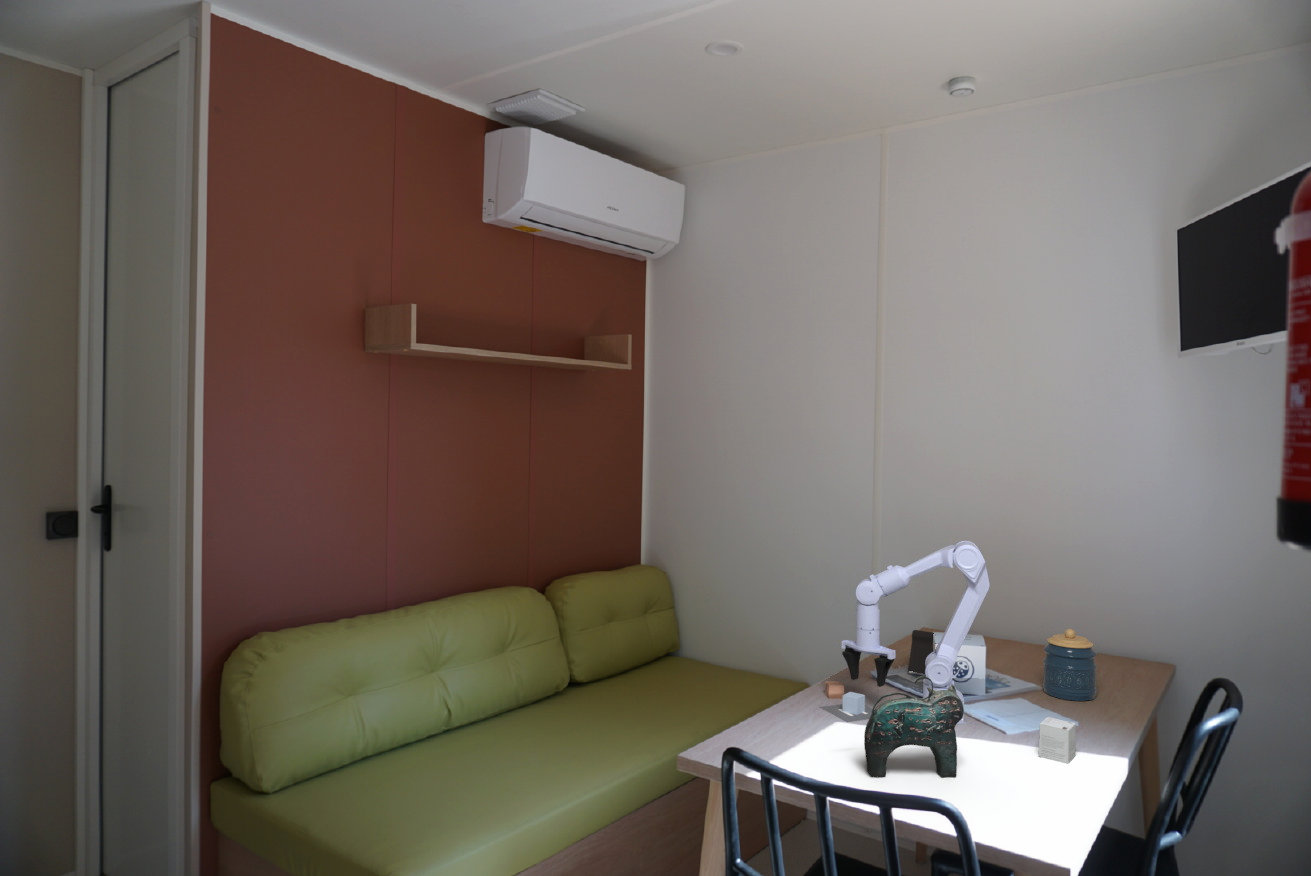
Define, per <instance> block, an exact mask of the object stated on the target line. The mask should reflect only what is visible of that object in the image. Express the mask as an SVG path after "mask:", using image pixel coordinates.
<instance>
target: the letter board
mask: <svg viewBox="0 0 1311 876" xmlns="http://www.w3.org/2000/svg"><path fill="white" fill-rule="evenodd" d="M819 708H820V709H822V710H824V711H825V712H827V713H829V714H831V715H832V716H835V717H837V718H838V719H840V720H842V721H844V722H846V723H852V722H859V721H865V720H869V718H870V716H871V714H872V709H873V707H870V706H868V705H866V704H865V711H864V712H862V713H860V714H858V715H855V714H851V713H847V712H843V703H842V704H841V703H839V704H833V705H824V706H819Z"/></svg>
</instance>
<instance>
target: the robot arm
mask: <svg viewBox="0 0 1311 876" xmlns="http://www.w3.org/2000/svg"><path fill="white" fill-rule="evenodd" d="M954 565H955V567H957V568H958V569H959V571H960V572H961V573H962V574H963V576H964V579H965V580H966V583H967V584H966V587H965V588H964V591H963V593H962V595H961V597H960V599H959V602H958V604H957V605H956V607H955V610H954V612H953V614H952V617H950V620H949V623H948V625H947V627H946V629H945V631H944V633H943V635H942V637H941V639H940V641H939V643H937V644H936V649H935V650H934V651H933V652H932V653H931V654H929V655H928V656H927V658H926V661H925V665H926V669H925V675H926V677H928V678H929V679H931V681H932V683H933V690H935V691H938V690H948V689H949V688H950V686H951V685H953V686H955V681H954V680H953V677H954V671H953V669H954V666H955V664H956V660H957V658H958V656H959V655H958V654H959V652H960V650H961V648H962V646H963V644H964V641H965V639H966V637H967V635H968V633H969V631H970V629H971V627H972V625H973V623H974V621H975V619H976V617H977V614H978V613H979V611H980V608H981V606H982V604H983V602H984V600H985V598H986V597H987V595H988V592H989V590H990V586H991V584H990V579H989V575H988V574H989V573H988V569H987V563H986V560H985V559H984V556H983V554H982V553H981V551H980V549H979V547H978V546H977V545H976V544H975V543H974V542H972V541H970V540H962V541H958V542H957V543H956V544H955V545H954V544H950V545H947V546H945V547H942V548H939V549H938V550H936V551H934V552H931V553H930V554H928V555H925V556H924V557H922V558H920V559H918V560H916V561H914V562H912V563H910V564H908V565H906V566H900V565H897V564H896V565H894V566H893V565H892V564H890V565H888V566H886V570H883V571H881V572H879V573H877V574H873V573H871V575H869V578H864V579H863V580H861V581H860V582H859V583H858V585H857V587H856V589H855V597H856V599H857V600H856V610H855V611H856V612H855V613H856V615H855V616H856V617H855V619H856V621H855V622H856V623H855V627H856V628H855V629H856V630H855V636H856V637H855V640H849V639H844V640H841V649H842V650H844V651H841V653H842V654H841V655H842V656H843V658H844V660H845V662H846V665H847V667H848V670H849V675H850V678H851V681H855V680H858V679H859V677H860V676H859V674H860V660H861V656H862V653H863V654H869V655H873V656H877V657H876V658H873V659H874V664H875V669H876V670H875V671H876V684H877V687H879V688H880V687H883V686H885V684H886V679H887V676H888V673H889V670H890V668H891V667H892V665H893V663H894V662H895V659H896V657H897V656H896V650H895V649H891V648H888V647H885V646H882V645H881V644H880V643H881V641H880V640H881V637H880V636H881V631H880V630H881V624H880V623H881V611H880V598H883V597H884V598H886V597H887V596H889V595H892V594H894V593H896V592H898V591H900V590H904V589H905V588H907V587H909V585H910V584H909V583H910V582H911V580H912V579H914V578H916V577H917V578H918V577H919V576H921V575H923V574H924V575H925V574H926V573H928V572H931V571H932V570H935V569H938V568H948V569H954ZM922 682H923V683H922V698H925V697H928V696H929V691H928V690H927V687H928V688H931V689H932V684H931V682H930V681H929V680H928V679H923V681H922ZM955 689H956V693H957V695H958V696H959V698H960V699H961V701H962V703H963V708H964V709H965V699H964V695H963V694H962V692H961V691H959V690H958V689H957V687H955ZM927 699H928V698H927ZM961 724H964V725H968V724H967V721H965V713H964V714H963V717H962V719H961V720H960V721H959V722H958V723H957V724H956V725H961Z"/></svg>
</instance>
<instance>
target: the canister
mask: <svg viewBox="0 0 1311 876" xmlns="http://www.w3.org/2000/svg"><path fill="white" fill-rule="evenodd" d="M1046 641H1047V643H1048V644H1046V645H1045V646H1044V647H1043V648H1042V649H1043V650H1044V652H1045V655H1044V656H1045V657H1044V658H1043V660H1042V661H1043V681H1042V687H1043V692H1044V693H1045V694H1046V695H1049V696H1051V697H1054V698H1057V699H1061V700H1067V701H1074V702H1085V701H1086V702H1087V701H1092V700H1095V698H1096V694H1097V690H1098V689H1097V668H1098V666H1097V664H1096V661H1095V658H1096V657H1097V655H1098V653H1097V651H1095V650H1094V649H1093V647H1094V643H1093V642H1091V641H1090V640H1088V638H1086V637H1084V636H1081V635H1076V631H1075V629H1072V628H1067V629H1065V631H1064V633H1058V634H1054V635H1052V636H1050V637H1048V638H1047V639H1046Z"/></svg>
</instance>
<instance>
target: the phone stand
mask: <svg viewBox="0 0 1311 876" xmlns="http://www.w3.org/2000/svg"><path fill="white" fill-rule="evenodd" d="M934 633H935V632H932V631H925V630H918V629H913V631H912V633H911V634H912V635H911V644H910V645H911V646H910V654H909V662H908V668H907V669H908V670H907V672H908V671H913V672H917V673H923V674H925V669H926V665H925V661H926V658H927V656H928V655H929V654H931V653H932V652H933V634H934Z"/></svg>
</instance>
